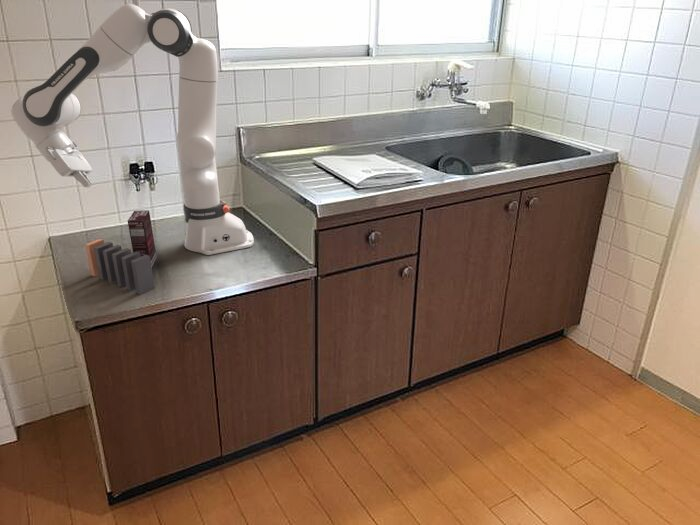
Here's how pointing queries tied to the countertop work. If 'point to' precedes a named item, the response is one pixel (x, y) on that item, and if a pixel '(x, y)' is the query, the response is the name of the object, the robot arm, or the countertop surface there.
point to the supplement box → (142, 234)
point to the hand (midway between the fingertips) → (89, 186)
